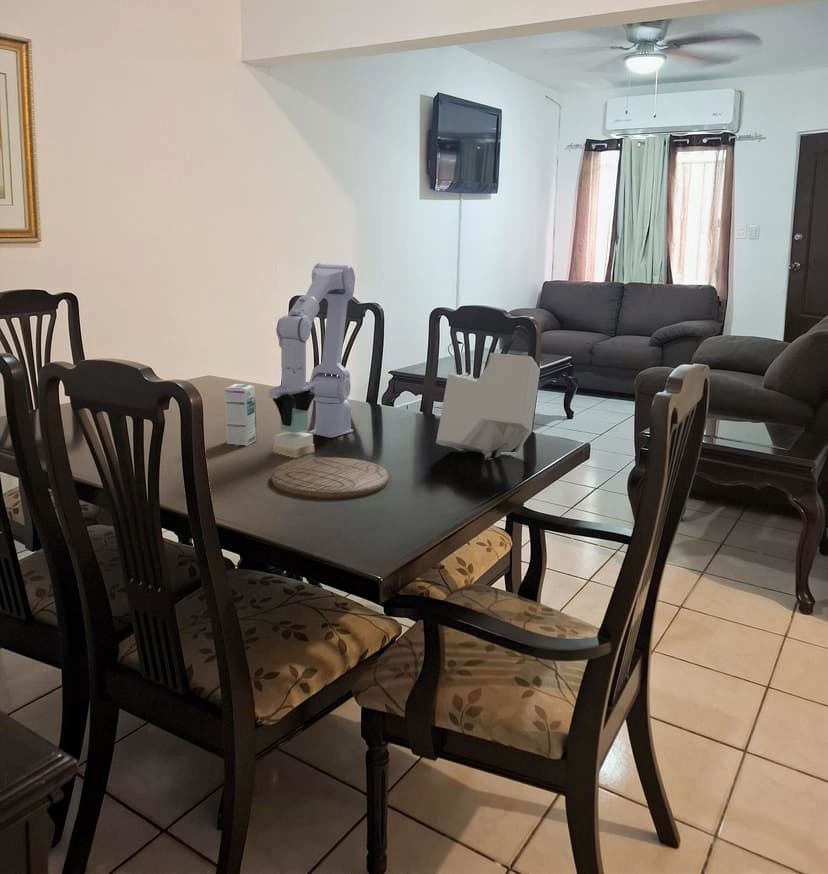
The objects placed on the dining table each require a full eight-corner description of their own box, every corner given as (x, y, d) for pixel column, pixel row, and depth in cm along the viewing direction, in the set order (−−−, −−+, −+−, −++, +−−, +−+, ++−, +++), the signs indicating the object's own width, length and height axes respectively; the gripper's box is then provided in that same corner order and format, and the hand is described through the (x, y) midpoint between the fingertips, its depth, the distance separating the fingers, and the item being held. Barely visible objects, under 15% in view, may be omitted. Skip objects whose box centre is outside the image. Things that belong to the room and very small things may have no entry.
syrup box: (247, 446, 193) (246, 388, 189) (225, 444, 194) (224, 386, 191) (257, 440, 198) (256, 384, 195) (235, 438, 200) (234, 382, 196)
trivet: (319, 459, 186) (319, 451, 185) (409, 478, 173) (410, 470, 173) (246, 485, 165) (246, 476, 164) (343, 509, 152) (343, 499, 152)
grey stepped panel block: (430, 453, 183) (445, 348, 185) (446, 459, 198) (460, 362, 200) (516, 464, 177) (531, 356, 179) (526, 469, 192) (540, 370, 194)
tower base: (293, 449, 194) (292, 439, 194) (314, 454, 190) (314, 444, 190) (273, 455, 189) (273, 445, 188) (294, 460, 185) (294, 450, 184)
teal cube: (293, 426, 191) (293, 408, 190) (307, 429, 188) (307, 411, 187) (280, 429, 187) (280, 411, 186) (294, 432, 185) (294, 414, 184)
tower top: (292, 439, 193) (292, 430, 193) (312, 444, 190) (312, 434, 189) (274, 445, 188) (274, 435, 187) (295, 449, 185) (295, 439, 184)
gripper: (284, 373, 176) (284, 431, 179) (326, 365, 188) (326, 420, 191) (262, 369, 180) (262, 426, 183) (305, 362, 192) (305, 416, 195)
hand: (293, 423), depth 187 cm, fingers closed on teal cube, 4 cm apart
